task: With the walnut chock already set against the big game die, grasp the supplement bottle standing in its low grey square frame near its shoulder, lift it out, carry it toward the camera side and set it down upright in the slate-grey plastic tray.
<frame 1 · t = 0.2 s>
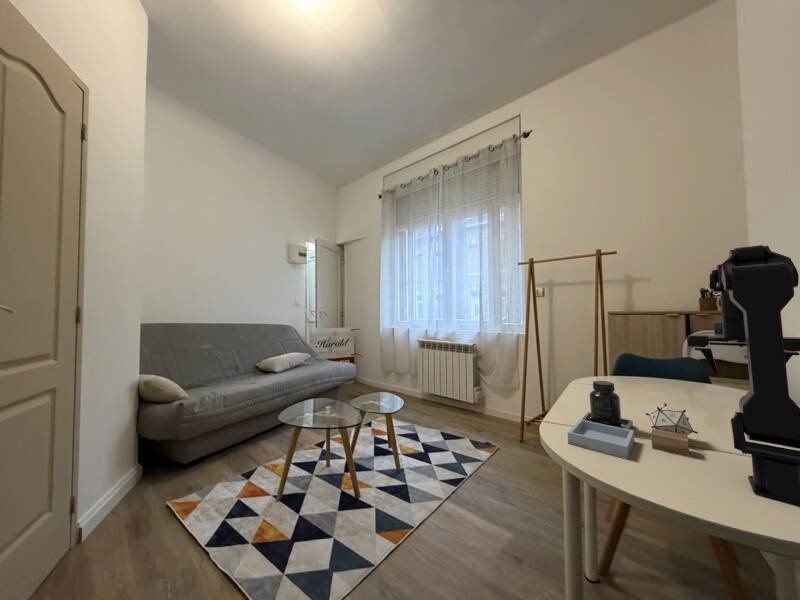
hand: (744, 378, 70), 15 cm above the table, fingers open, 9 cm apart
grey square frame: (606, 426, 79), on the table
walnut chock: (670, 450, 65), on the table
parts tray: (601, 442, 70), on the table
game die: (671, 440, 70), on the table
supplement bottle: (606, 427, 79), resting in grey square frame
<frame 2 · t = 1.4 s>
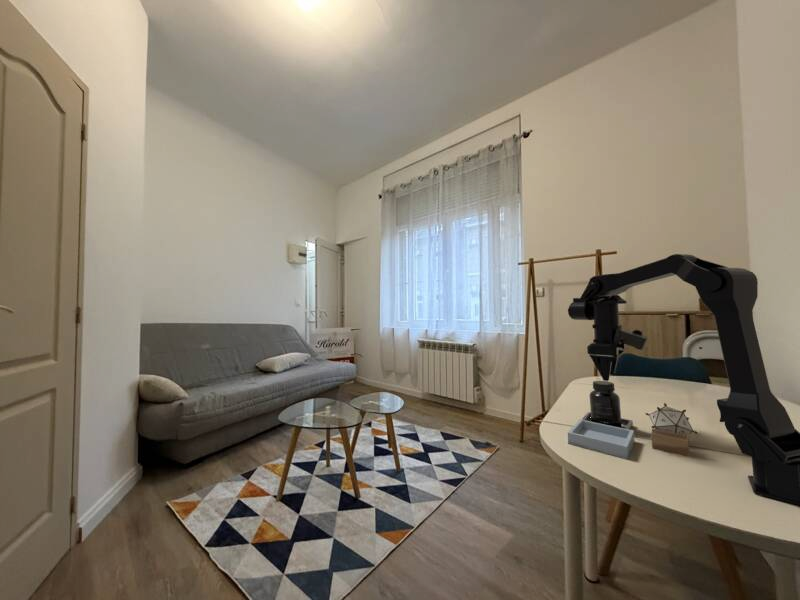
hand: (609, 377, 79), 13 cm above the table, fingers open, 9 cm apart
nothing on the table moved.
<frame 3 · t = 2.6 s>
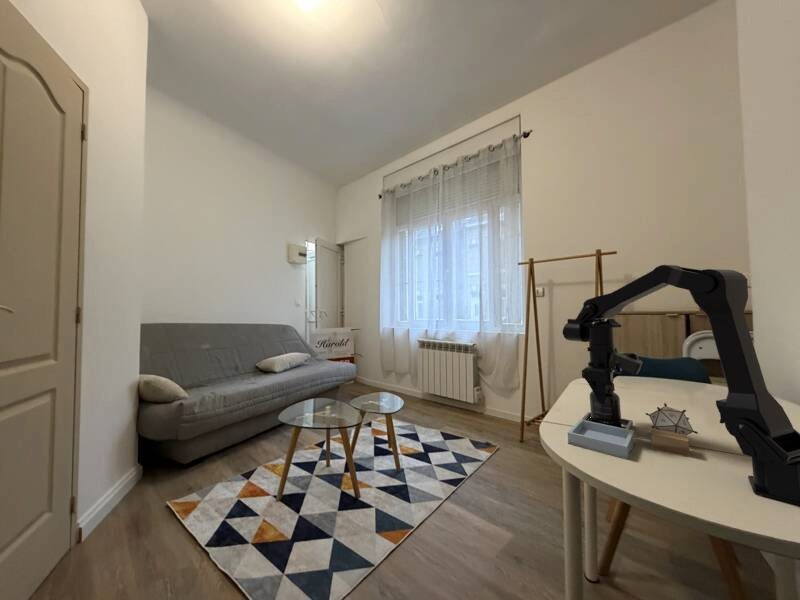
hand: (604, 400, 79), 7 cm above the table, fingers closed on supplement bottle, 7 cm apart
supplement bottle: (606, 427, 79), resting in grey square frame, touching gripper
everything else where it was.
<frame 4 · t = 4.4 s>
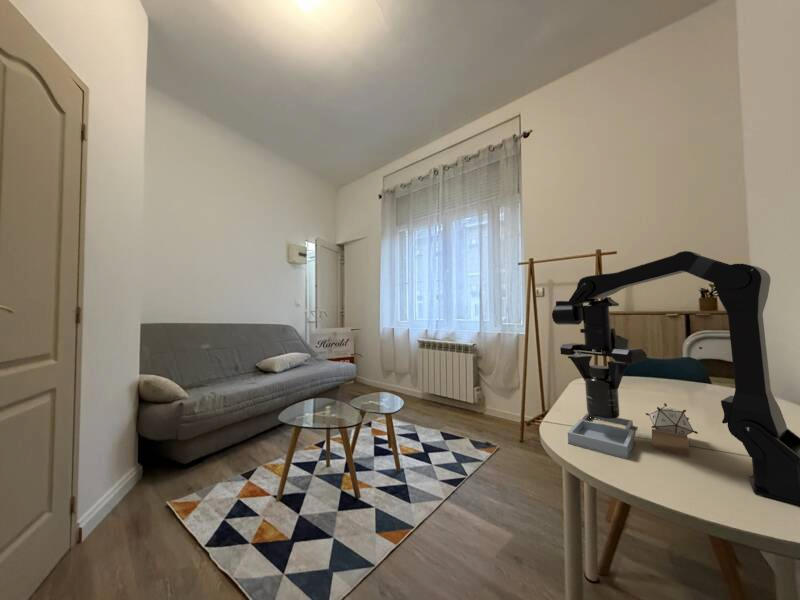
hand: (601, 386, 73), 13 cm above the table, fingers closed on supplement bottle, 7 cm apart
supplement bottle: (603, 415, 73), point 5 cm above the table, touching gripper
everything else where it was.
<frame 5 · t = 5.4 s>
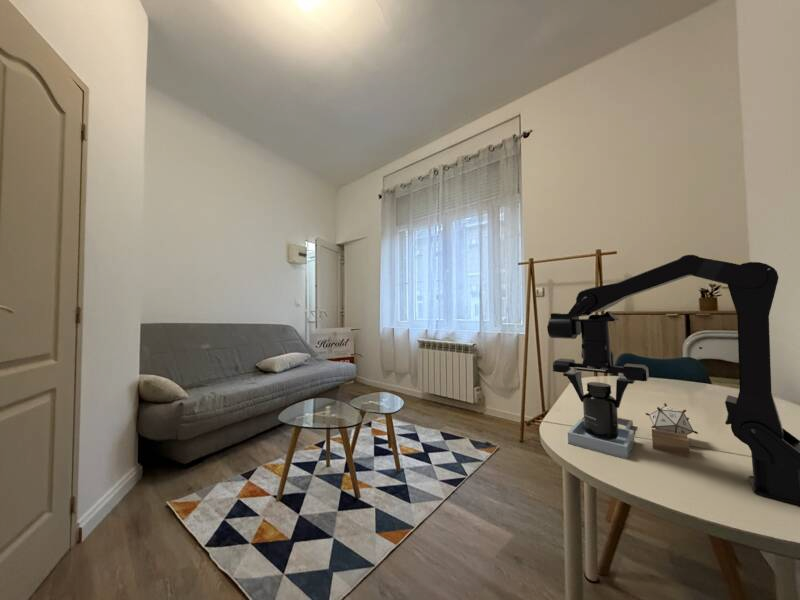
hand: (599, 404, 70), 9 cm above the table, fingers closed on supplement bottle, 7 cm apart
supplement bottle: (601, 435, 70), point 2 cm above the table, touching gripper
everything else where it was.
when the fingers open (9 cm above the table, at t = 5.9 s): supplement bottle drops 1 cm, resting on parts tray.
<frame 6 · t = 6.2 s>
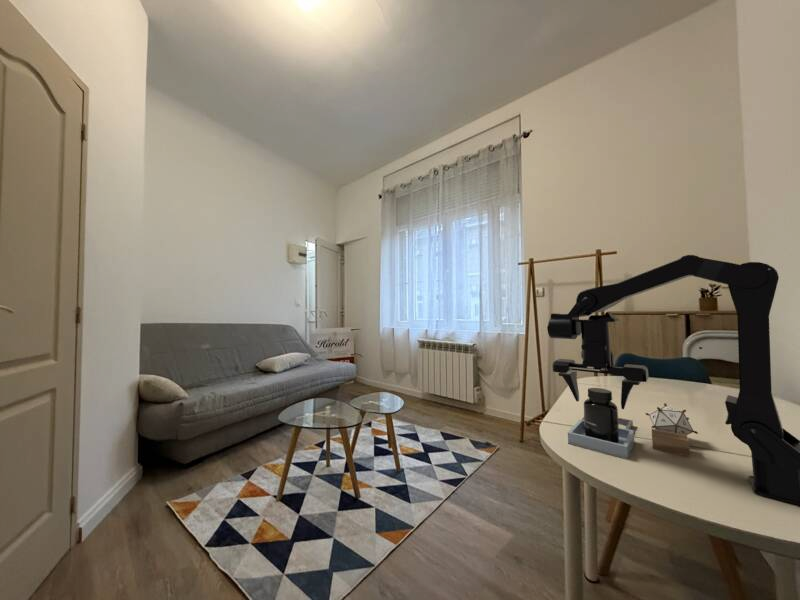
hand: (599, 404, 70), 9 cm above the table, fingers open, 9 cm apart
supplement bottle: (601, 441, 69), resting on parts tray
everything else where it was.
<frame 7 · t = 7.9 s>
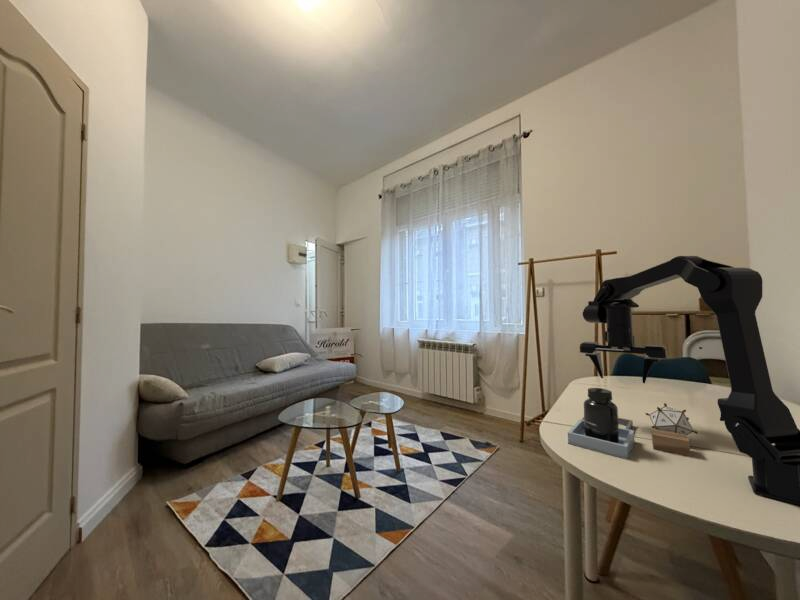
hand: (622, 380, 80), 12 cm above the table, fingers open, 9 cm apart
nothing on the table moved.
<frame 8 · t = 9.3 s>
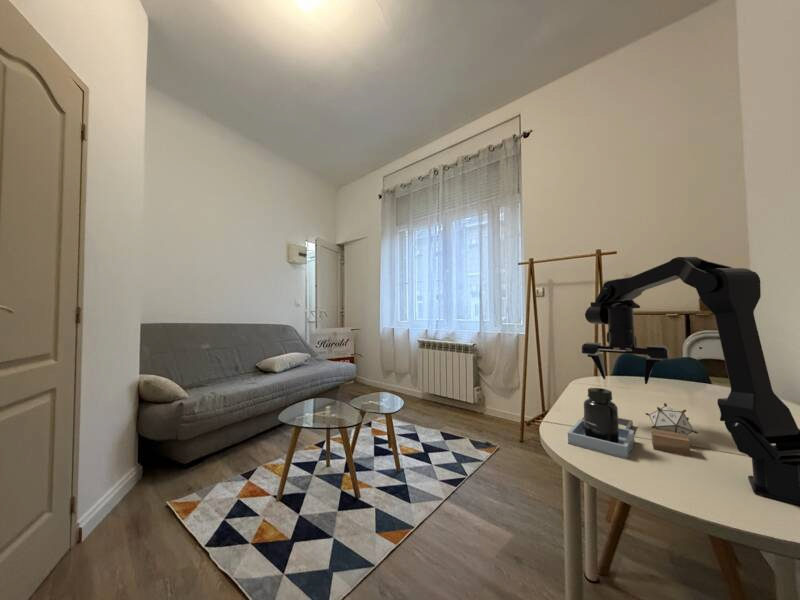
hand: (624, 381, 80), 12 cm above the table, fingers open, 9 cm apart
nothing on the table moved.
at the end: supplement bottle 0.2 cm from the parts tray (horizontally); supplement bottle tilted 0°; the gripper is holding nothing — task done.
